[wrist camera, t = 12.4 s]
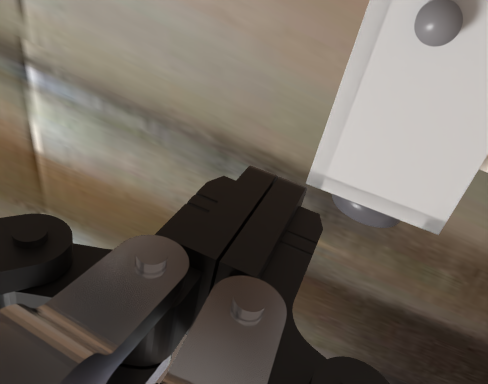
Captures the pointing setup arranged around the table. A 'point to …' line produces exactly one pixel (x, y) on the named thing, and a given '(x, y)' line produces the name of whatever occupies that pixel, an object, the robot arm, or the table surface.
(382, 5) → the camera housing
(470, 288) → the table surface
